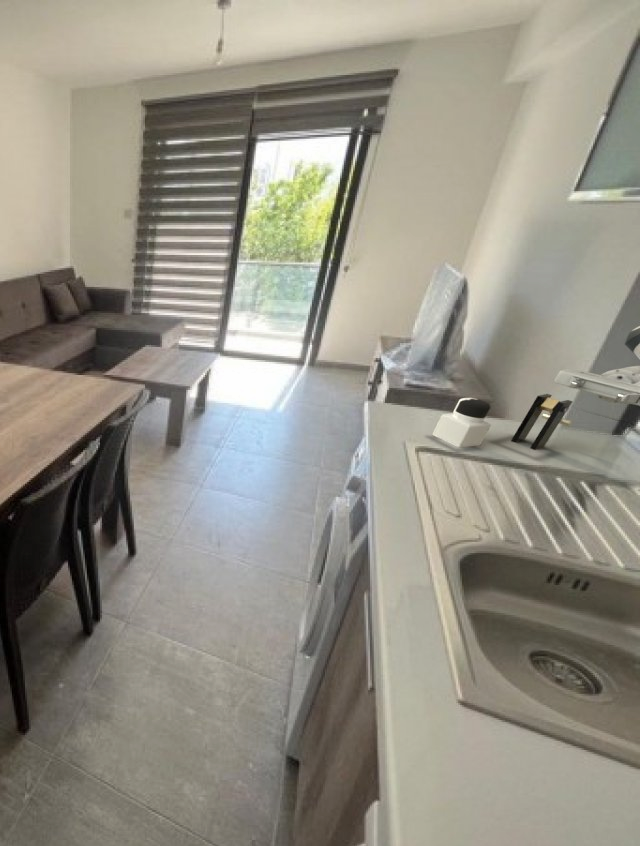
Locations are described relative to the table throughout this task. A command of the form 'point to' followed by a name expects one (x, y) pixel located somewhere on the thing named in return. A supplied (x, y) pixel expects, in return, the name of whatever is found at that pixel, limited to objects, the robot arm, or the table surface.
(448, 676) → the table surface
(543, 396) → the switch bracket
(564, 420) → the switch lever
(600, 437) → the table surface
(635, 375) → the robot arm
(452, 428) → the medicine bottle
